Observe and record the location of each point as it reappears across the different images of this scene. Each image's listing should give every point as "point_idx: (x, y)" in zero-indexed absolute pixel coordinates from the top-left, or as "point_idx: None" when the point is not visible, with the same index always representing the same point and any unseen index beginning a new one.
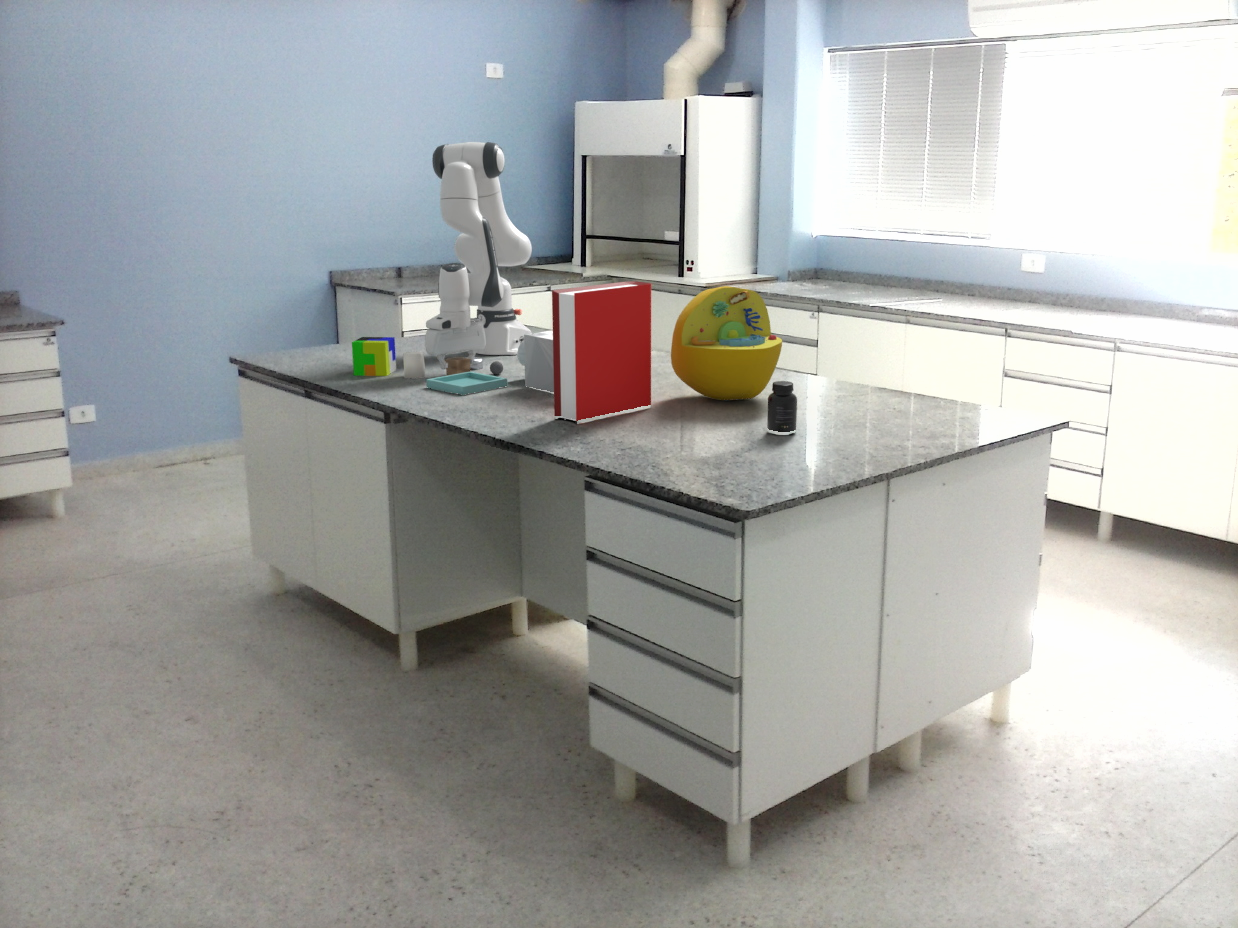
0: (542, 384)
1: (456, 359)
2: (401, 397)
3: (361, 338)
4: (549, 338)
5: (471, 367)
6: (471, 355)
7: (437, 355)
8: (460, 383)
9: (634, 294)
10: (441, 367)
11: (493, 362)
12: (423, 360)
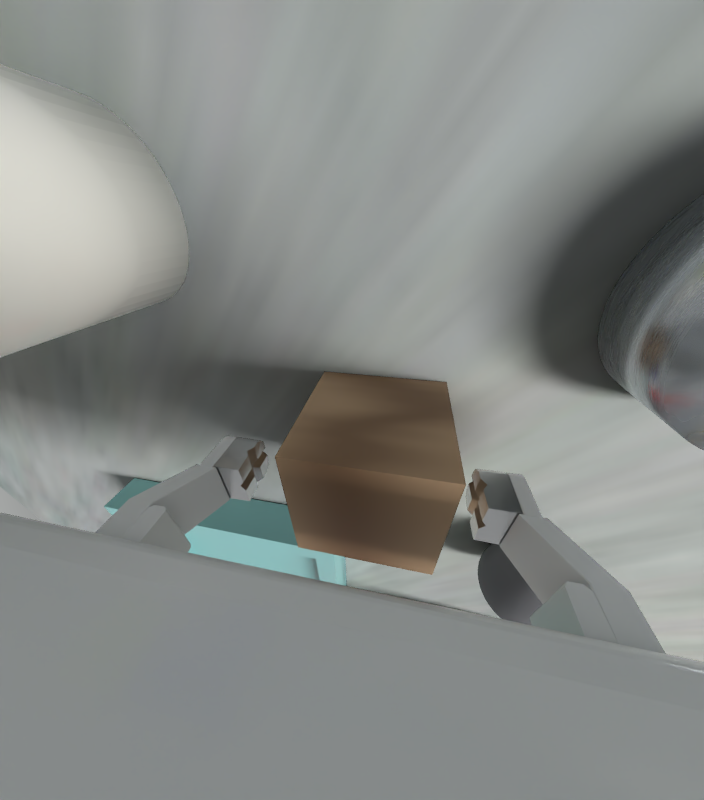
0: None
1: (335, 526)
2: (48, 493)
3: None
4: None
5: (625, 389)
6: (537, 574)
7: (114, 525)
8: (234, 551)
9: None
10: (225, 446)
11: (511, 618)
12: (29, 343)
